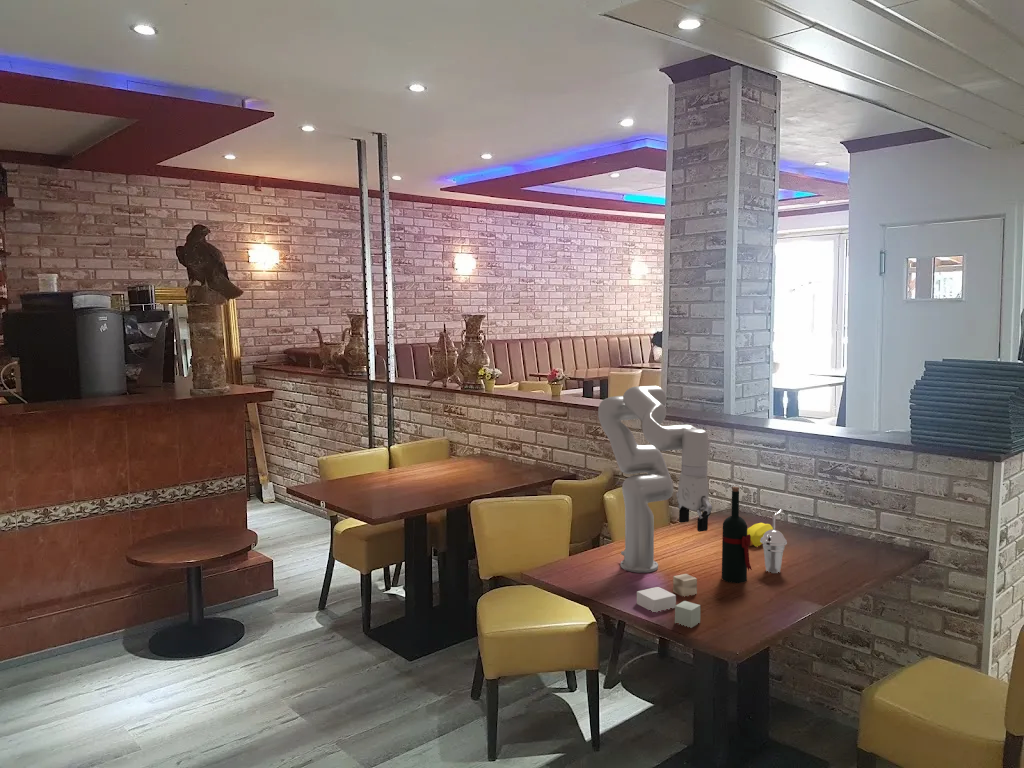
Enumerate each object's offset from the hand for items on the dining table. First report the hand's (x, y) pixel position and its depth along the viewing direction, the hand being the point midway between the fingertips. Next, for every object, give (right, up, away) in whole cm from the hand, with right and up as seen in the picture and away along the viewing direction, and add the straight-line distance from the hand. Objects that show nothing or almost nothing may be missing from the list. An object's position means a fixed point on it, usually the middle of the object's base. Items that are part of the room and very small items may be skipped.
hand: (693, 526), depth 223 cm
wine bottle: (+18, -20, +15) cm, 31 cm away
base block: (-12, -23, -5) cm, 26 cm away
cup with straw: (+32, -19, +24) cm, 45 cm away
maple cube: (-1, -21, +4) cm, 22 cm away
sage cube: (-6, -23, -18) cm, 30 cm away
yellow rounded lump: (+38, -17, +55) cm, 69 cm away
